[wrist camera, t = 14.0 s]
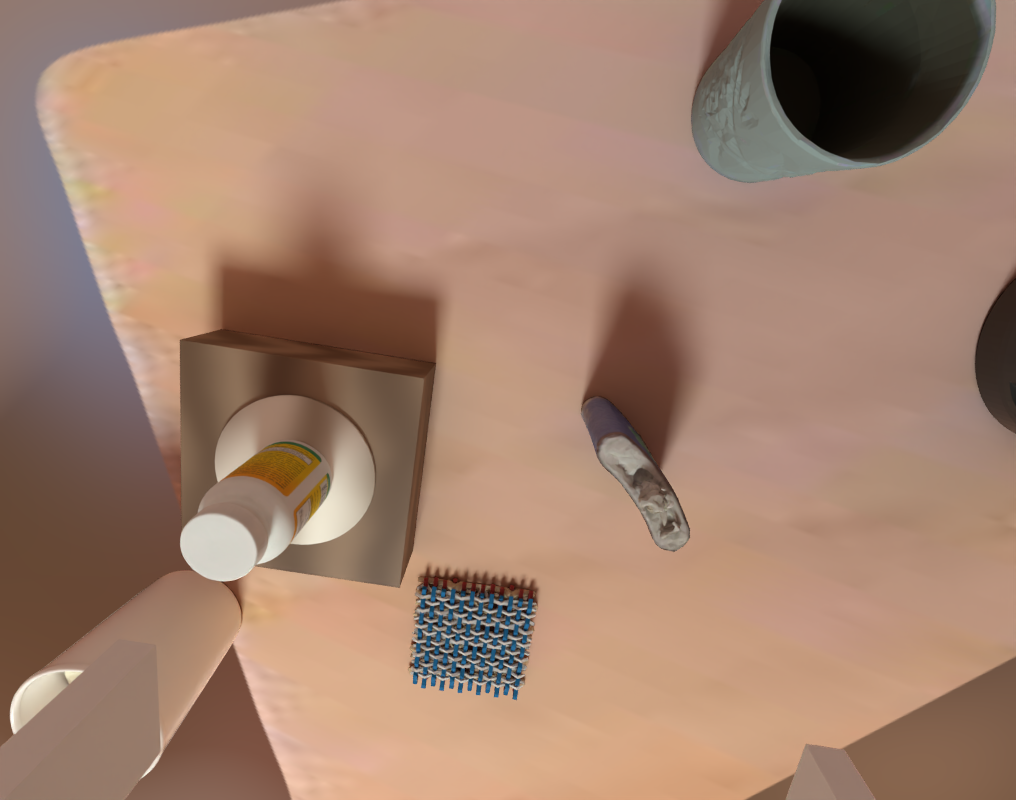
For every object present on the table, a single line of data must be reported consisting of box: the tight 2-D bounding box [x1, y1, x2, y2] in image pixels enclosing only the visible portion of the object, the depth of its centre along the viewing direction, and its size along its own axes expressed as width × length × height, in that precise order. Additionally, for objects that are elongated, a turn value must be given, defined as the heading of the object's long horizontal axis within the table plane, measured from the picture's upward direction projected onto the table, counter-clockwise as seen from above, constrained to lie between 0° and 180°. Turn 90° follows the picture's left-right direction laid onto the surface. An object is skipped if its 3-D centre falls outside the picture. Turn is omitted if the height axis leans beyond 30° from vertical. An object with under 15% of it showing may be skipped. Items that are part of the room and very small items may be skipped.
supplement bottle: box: [180, 440, 332, 581], centre depth 32 cm, size 5×5×10 cm
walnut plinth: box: [180, 329, 436, 588], centre depth 39 cm, size 16×16×5 cm
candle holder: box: [10, 570, 242, 778], centre depth 40 cm, size 10×10×12 cm
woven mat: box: [408, 577, 538, 700], centre depth 45 cm, size 10×11×2 cm
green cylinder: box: [691, 0, 996, 183], centre depth 29 cm, size 10×10×12 cm
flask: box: [581, 396, 690, 552], centre depth 36 cm, size 9×3×11 cm, turn 35°
